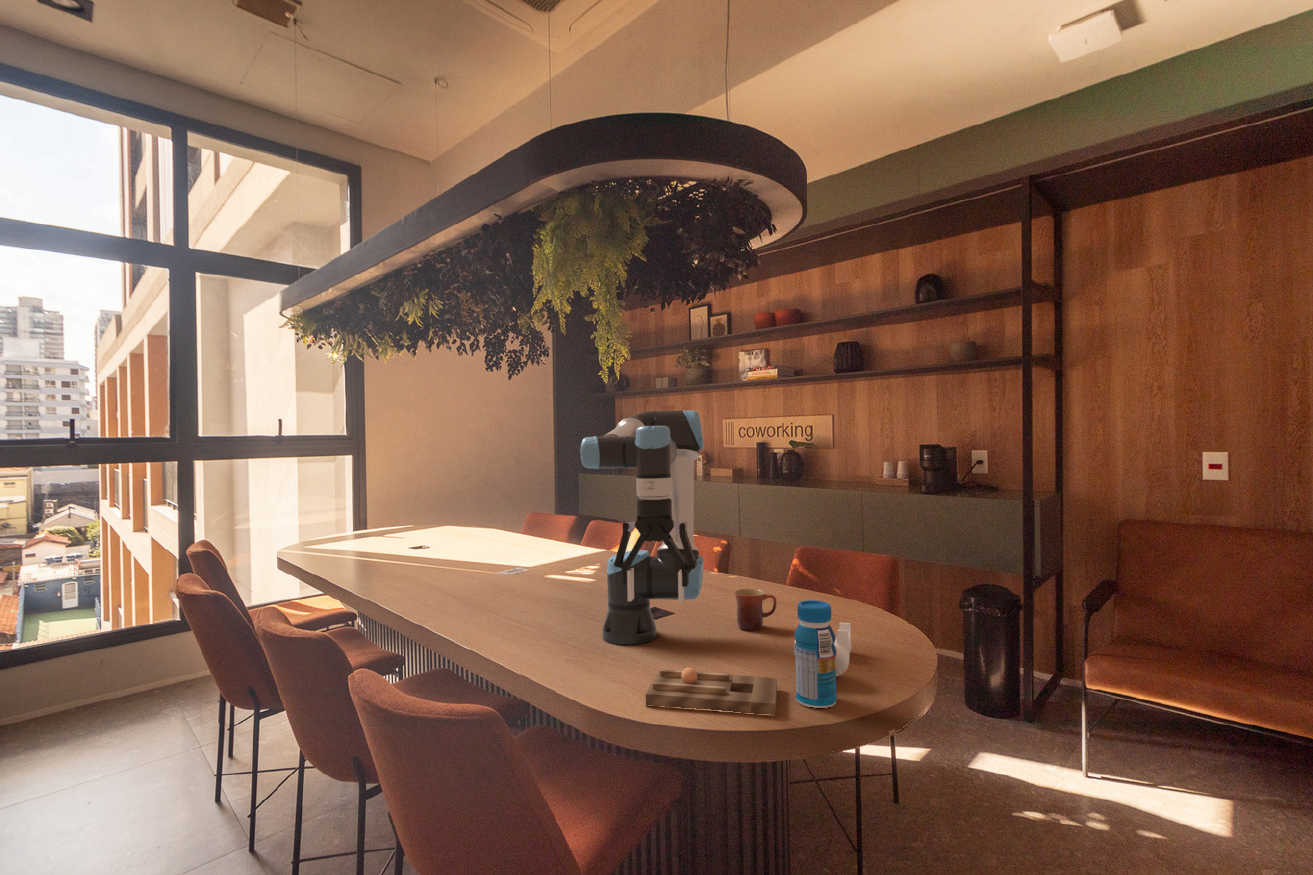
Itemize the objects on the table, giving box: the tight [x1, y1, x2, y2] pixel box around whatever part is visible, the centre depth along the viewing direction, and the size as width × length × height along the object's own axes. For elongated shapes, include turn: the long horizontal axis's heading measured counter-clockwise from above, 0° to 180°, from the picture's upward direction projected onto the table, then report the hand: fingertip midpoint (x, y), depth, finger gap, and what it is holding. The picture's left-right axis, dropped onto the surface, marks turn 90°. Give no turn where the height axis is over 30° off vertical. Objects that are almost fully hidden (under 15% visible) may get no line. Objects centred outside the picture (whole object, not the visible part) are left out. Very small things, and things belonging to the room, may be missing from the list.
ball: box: [681, 667, 698, 684], centre depth 128 cm, size 3×3×3 cm
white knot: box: [834, 643, 850, 678], centre depth 136 cm, size 11×12×9 cm
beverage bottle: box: [793, 599, 837, 709], centre depth 124 cm, size 8×8×20 cm
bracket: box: [793, 622, 852, 659], centre depth 152 cm, size 13×7×8 cm, turn 67°
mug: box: [733, 588, 778, 632], centre depth 174 cm, size 12×9×10 cm
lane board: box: [645, 668, 778, 716], centre depth 127 cm, size 26×13×4 cm, turn 77°
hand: (656, 600), depth 130 cm, fingers open, 10 cm apart
